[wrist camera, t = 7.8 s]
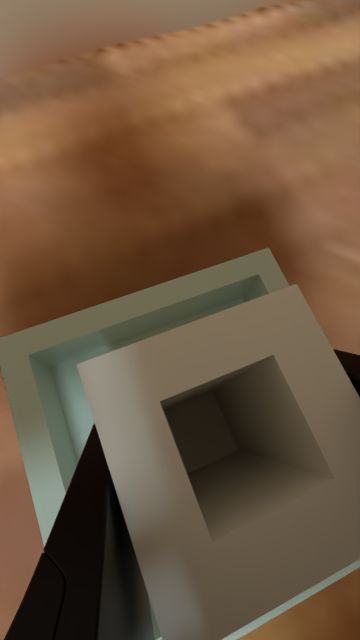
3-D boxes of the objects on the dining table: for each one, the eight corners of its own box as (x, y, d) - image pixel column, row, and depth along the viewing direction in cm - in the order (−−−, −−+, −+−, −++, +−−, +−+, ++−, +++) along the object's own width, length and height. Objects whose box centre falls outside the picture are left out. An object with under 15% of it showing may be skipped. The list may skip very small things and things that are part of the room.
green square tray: (361, 506, 17) (422, 530, 13) (106, 645, 14) (88, 727, 10) (247, 280, 20) (268, 247, 17) (27, 357, 18) (-7, 339, 14)
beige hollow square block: (271, 465, 15) (427, 519, 6) (161, 519, 14) (171, 668, 5) (222, 356, 16) (296, 283, 8) (119, 398, 15) (76, 364, 7)
